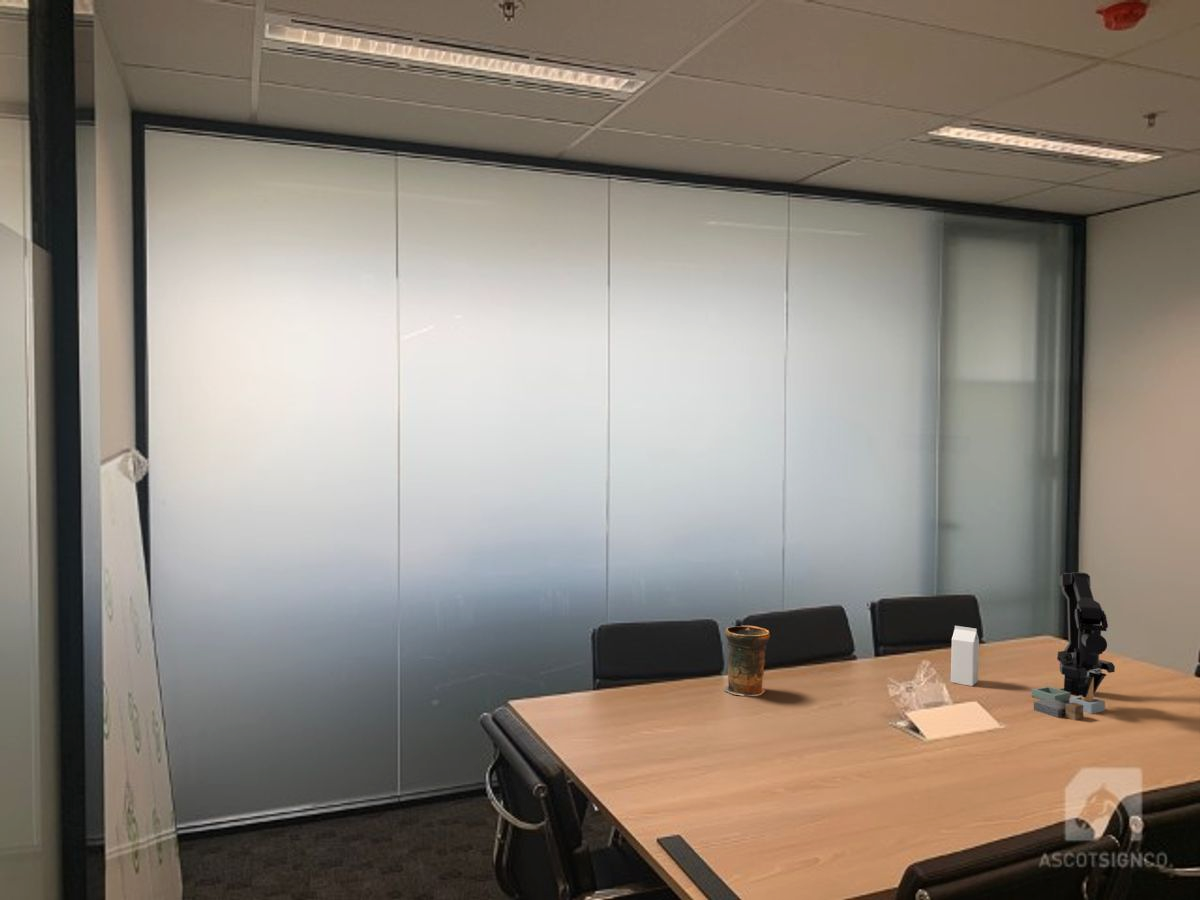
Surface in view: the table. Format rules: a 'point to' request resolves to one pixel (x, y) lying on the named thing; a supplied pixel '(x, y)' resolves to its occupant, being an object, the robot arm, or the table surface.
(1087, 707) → the socket block
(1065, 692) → the tray
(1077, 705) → the block
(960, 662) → the milk carton
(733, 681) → the vessel
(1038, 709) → the grey slab
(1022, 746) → the table surface
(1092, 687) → the dowel
